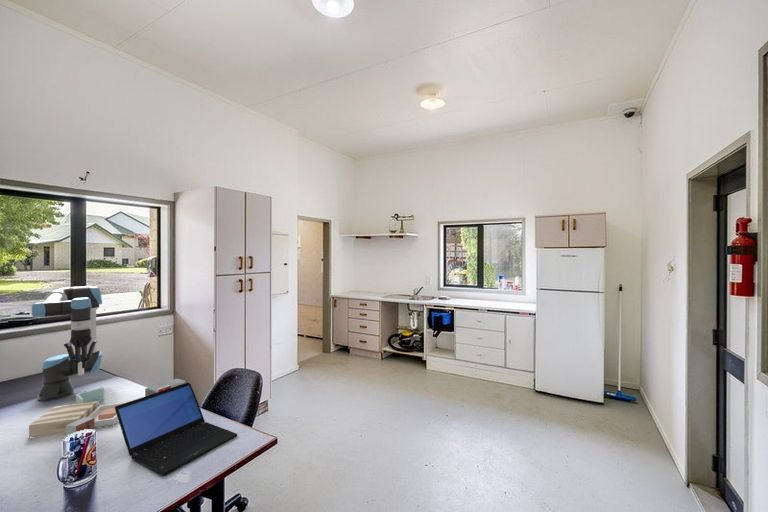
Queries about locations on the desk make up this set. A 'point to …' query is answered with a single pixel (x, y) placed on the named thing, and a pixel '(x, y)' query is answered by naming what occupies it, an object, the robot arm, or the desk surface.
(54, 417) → the plate
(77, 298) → the robot arm
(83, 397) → the l-shaped corner panel
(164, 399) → the laptop
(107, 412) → the tile
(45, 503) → the desk surface
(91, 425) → the small box
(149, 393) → the hard drive box
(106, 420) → the box
